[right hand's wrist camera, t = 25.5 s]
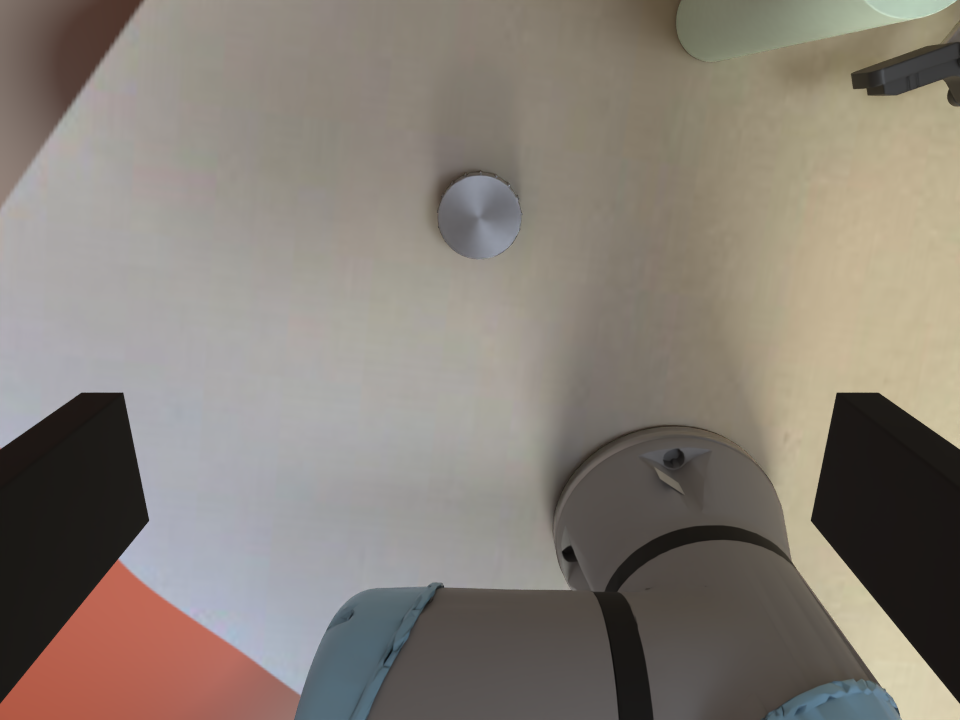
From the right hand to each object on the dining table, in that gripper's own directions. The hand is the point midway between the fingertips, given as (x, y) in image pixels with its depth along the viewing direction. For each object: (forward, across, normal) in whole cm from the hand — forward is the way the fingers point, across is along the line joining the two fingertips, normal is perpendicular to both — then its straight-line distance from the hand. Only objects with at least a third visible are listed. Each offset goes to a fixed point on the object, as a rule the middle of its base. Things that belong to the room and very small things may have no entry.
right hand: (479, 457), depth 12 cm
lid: (+27, 0, +1) cm, 27 cm away
